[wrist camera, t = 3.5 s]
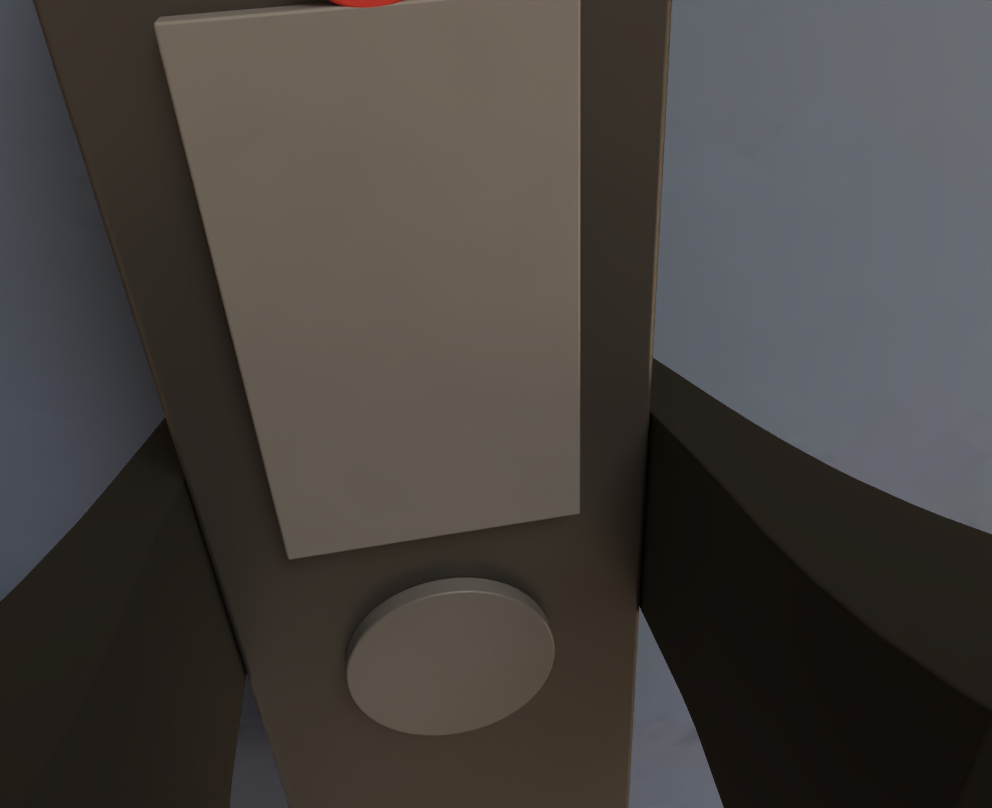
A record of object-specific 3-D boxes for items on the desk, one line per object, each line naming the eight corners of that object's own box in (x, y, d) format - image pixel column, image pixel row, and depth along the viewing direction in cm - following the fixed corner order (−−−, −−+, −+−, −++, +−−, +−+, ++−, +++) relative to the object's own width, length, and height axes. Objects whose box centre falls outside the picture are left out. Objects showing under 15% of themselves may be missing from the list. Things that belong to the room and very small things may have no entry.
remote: (572, 706, 17) (630, 899, 14) (328, 751, 16) (332, 962, 13) (566, -310, 8) (711, -390, 5) (60, -286, 8) (-101, -361, 5)
